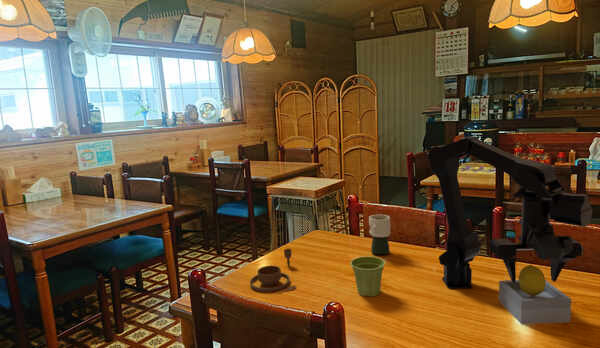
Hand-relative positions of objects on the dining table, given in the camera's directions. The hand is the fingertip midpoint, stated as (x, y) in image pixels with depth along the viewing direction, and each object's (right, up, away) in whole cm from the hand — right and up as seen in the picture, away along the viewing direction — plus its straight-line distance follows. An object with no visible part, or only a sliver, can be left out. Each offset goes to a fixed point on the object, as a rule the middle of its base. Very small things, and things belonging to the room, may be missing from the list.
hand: (533, 281), depth 97 cm
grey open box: (0, -8, +1) cm, 8 cm away
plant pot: (-37, -7, +16) cm, 41 cm away
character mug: (-28, -2, +45) cm, 53 cm away
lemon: (0, -4, +1) cm, 4 cm away
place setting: (-62, -7, +28) cm, 68 cm away
